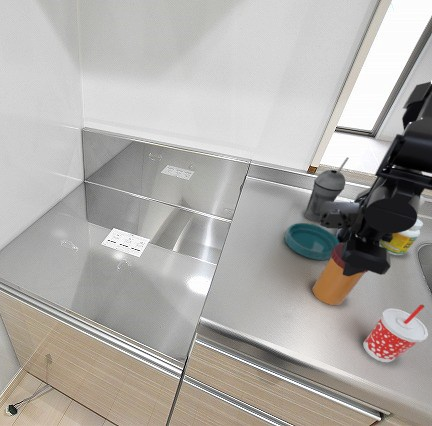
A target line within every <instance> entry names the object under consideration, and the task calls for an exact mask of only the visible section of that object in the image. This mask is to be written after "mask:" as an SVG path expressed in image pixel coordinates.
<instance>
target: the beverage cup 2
mask: <svg viewBox="0 0 432 426" xmlns="http://www.w3.org/2000/svg"><path fill="white" fill-rule="evenodd" d="M424 308H425V305H424V304H420V305H419V306H418V307H417V308H416V309H415V310H414V311H413V312H412V313H409V312H407V311H404V310H402V309H399V308H386V309H384V310H383V312H382V313H381V315H380V318H379V320H378V322H377V323H376V324H375V326H374V327H373V329H372V330H371V331H370V333H369V334H368V335H367V337H366V338H365V339H364V341H363V343H362V344H363V345H362V346H363V349H364V350H365V353H367V354H368V355H369V356H370V357H371V358H373V359H375V361H379V362H382V363H391V362H393V361H394V360H395V359H397V358H398V357H400V356H401V355H402V354H404V353H405V352H406V351H408V350H409V349H411V348H412V347H414V346H415V345H416V344H419V343H421V342H424V340H425V341H426V340H427V338H428V336H429V331H428V329H427V327H426V326H425V325H424V323H423V322H422V321H421V320H420V319H418V318H417V317H416V316H417V315H418V314H419V313H420V312H421V311H422V310H423V309H424Z"/></svg>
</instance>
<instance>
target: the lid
mask: <svg viewBox="0 0 432 426" xmlns="http://www.w3.org/2000/svg"><path fill="white" fill-rule="evenodd" d="M343 245H345V243H339V244H337V245H336V246H335V247H334V248H333V250H332V253H331V256H332V259H333V260H334V262H335V263H337V264H338V265H339V266H340V267H342V268H344V267H345V263H346V262H344V261H343V260H342V259H341V255H342V248H343ZM368 272H369V271H368V270H366V271H363V272H360V273H364V274H366V273H368Z"/></svg>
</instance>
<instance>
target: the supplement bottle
mask: <svg viewBox="0 0 432 426" xmlns="http://www.w3.org/2000/svg"><path fill="white" fill-rule="evenodd" d="M423 225H424V223H423V221H422V220H420V219H419V218H417V221H416V223H415V225H414V226H413V227H411V228H410V229H408V230H406V231H404V232H400V233H393V239H392V240H391V242H390V243H389V242H386V241H382V240H380V247H383V248H386V249H387V250H388V252H389V253H390V255H393V256H403V255H405V254H406V253H407V251H408V250H409V249H410V248H411V246H413V244H414V243H415V241H417V239H418V238H419V237H420V235H421V231H420V230H421V228H422V227H423Z"/></svg>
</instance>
